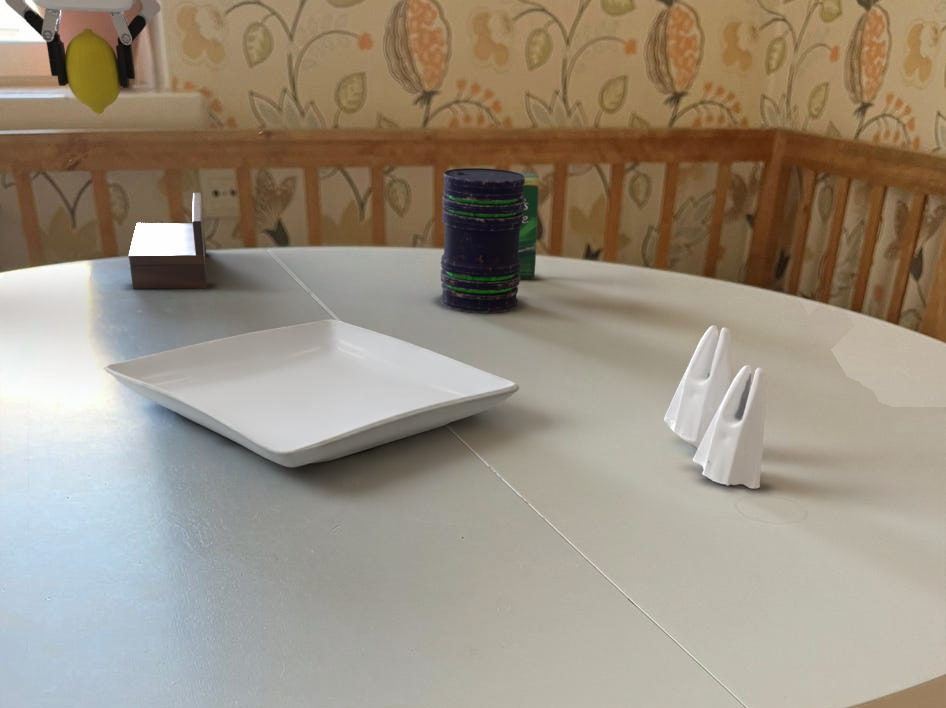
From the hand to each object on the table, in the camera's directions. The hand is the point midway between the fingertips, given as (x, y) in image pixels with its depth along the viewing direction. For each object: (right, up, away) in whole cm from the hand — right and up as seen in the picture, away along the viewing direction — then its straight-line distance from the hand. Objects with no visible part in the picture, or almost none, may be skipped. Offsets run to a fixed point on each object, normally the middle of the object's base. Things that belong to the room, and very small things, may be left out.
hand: (94, 83), depth 111 cm
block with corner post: (0, -10, +28) cm, 30 cm away
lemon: (0, -3, +2) cm, 3 cm away
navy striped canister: (+41, -17, +21) cm, 49 cm away
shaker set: (+61, -44, -21) cm, 78 cm away
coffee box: (+44, -9, +33) cm, 56 cm away
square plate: (+26, -38, -15) cm, 48 cm away
